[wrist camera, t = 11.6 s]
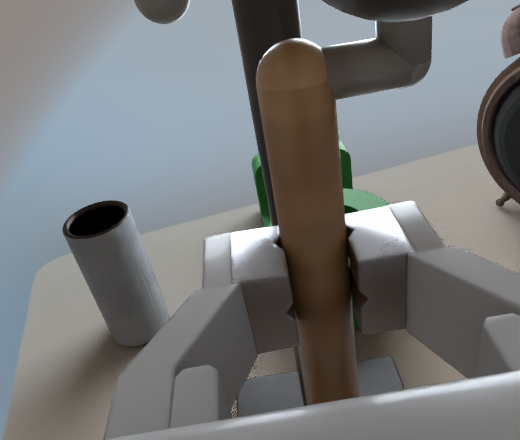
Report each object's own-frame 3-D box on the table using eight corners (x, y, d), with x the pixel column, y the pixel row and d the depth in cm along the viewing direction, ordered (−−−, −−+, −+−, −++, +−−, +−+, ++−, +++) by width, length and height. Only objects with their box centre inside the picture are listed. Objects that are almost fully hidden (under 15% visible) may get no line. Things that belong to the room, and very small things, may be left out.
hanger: (647, 552, 14) (1089, -443, 5) (76, 639, 14) (-520, -137, 5) (617, 510, 15) (934, -370, 6) (86, 592, 15) (-393, -119, 6)
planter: (102, 329, 38) (50, 223, 32) (149, 296, 40) (109, 193, 34) (131, 357, 35) (80, 246, 29) (180, 320, 37) (142, 211, 32)
